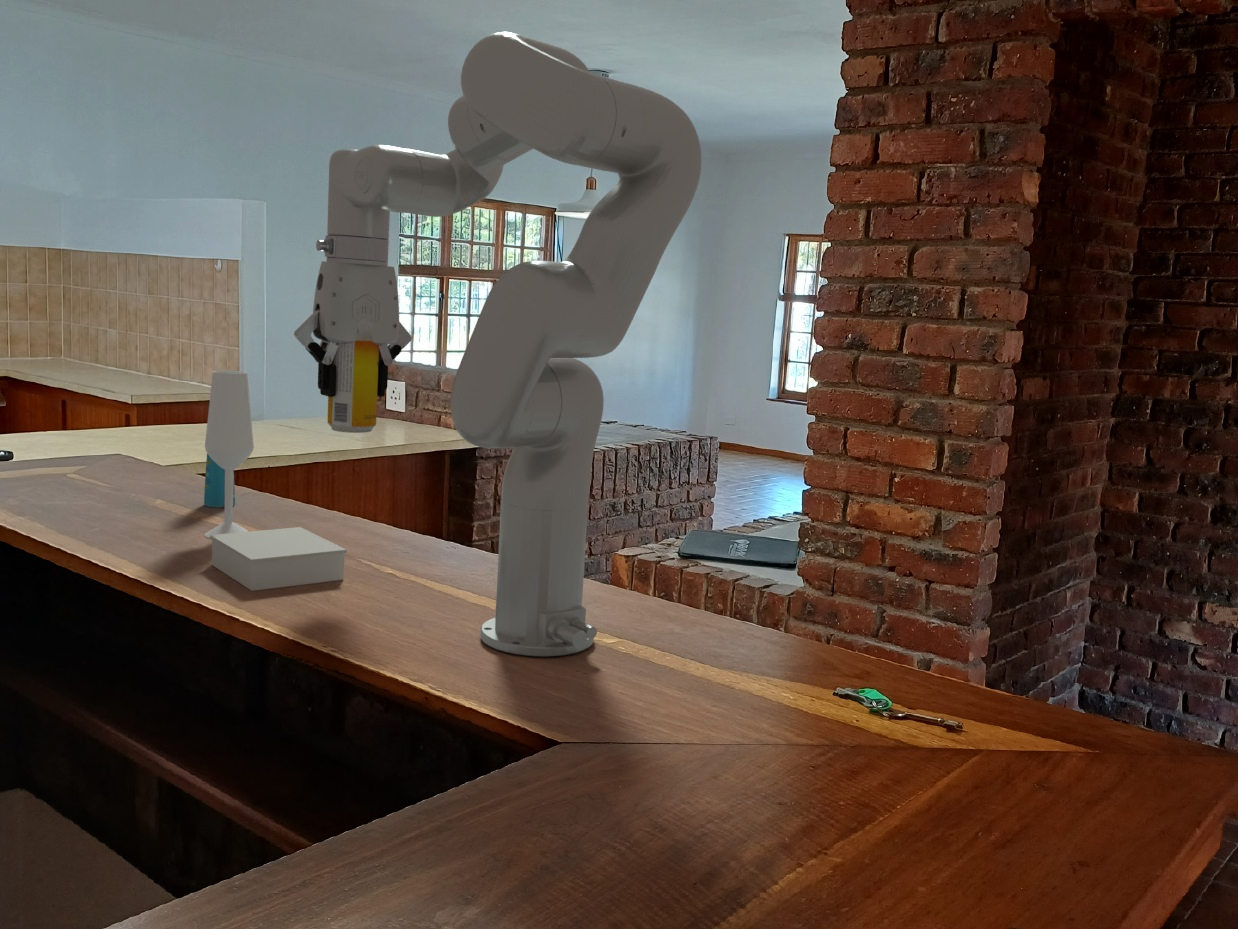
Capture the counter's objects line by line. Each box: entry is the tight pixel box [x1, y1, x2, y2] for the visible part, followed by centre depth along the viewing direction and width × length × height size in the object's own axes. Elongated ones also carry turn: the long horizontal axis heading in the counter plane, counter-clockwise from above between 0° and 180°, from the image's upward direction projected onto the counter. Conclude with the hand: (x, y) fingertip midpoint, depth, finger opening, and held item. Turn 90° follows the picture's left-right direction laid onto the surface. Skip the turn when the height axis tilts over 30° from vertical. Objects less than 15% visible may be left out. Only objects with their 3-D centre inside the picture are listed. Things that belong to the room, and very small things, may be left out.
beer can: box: [327, 318, 379, 434], centre depth 139 cm, size 6×6×15 cm
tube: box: [203, 452, 236, 509], centre depth 179 cm, size 7×5×19 cm, turn 28°
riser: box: [209, 526, 347, 592], centre depth 142 cm, size 14×12×4 cm
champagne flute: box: [204, 370, 255, 539], centre depth 159 cm, size 7×7×24 cm
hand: (352, 394), depth 139 cm, fingers closed on beer can, 6 cm apart
